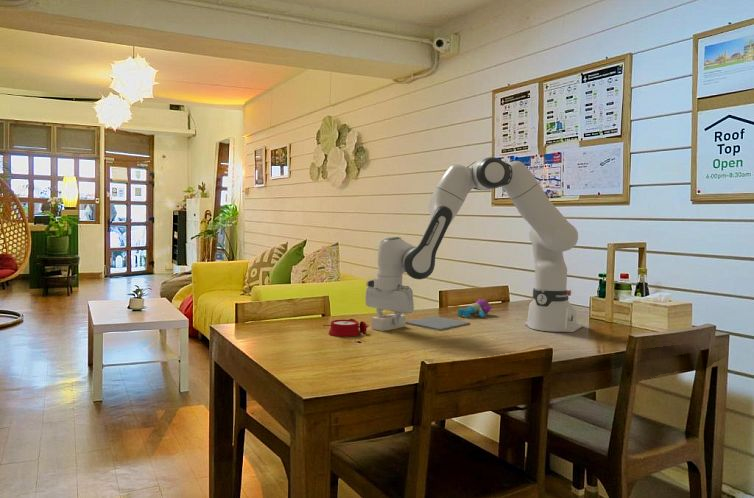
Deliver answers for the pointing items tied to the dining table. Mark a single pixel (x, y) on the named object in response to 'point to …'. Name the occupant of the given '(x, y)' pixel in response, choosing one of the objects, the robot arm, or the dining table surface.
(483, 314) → the toy
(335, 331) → the alarm clock
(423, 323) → the mat
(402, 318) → the white rectangular block
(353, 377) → the dining table surface
